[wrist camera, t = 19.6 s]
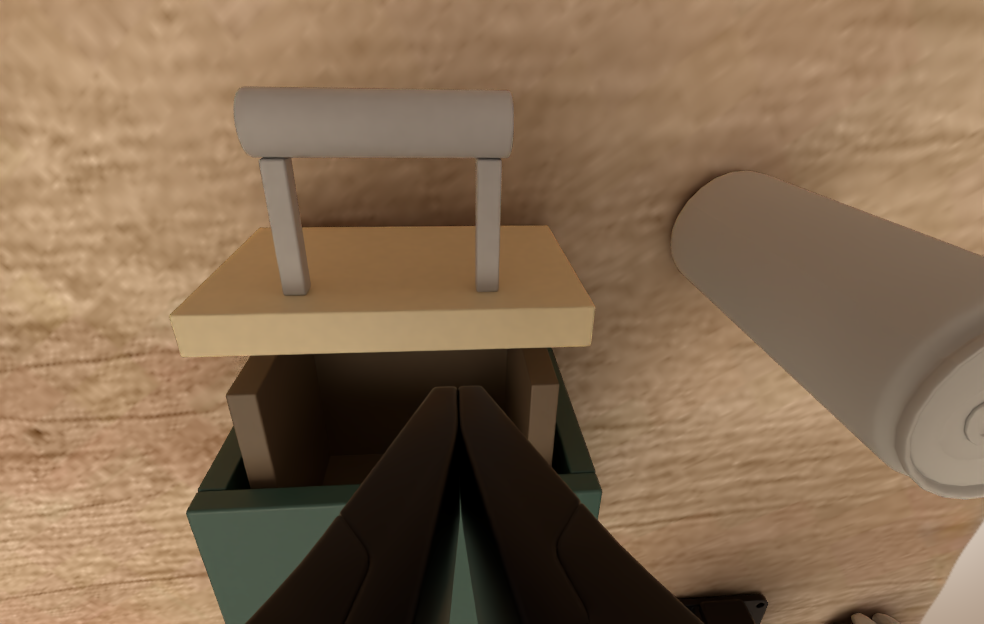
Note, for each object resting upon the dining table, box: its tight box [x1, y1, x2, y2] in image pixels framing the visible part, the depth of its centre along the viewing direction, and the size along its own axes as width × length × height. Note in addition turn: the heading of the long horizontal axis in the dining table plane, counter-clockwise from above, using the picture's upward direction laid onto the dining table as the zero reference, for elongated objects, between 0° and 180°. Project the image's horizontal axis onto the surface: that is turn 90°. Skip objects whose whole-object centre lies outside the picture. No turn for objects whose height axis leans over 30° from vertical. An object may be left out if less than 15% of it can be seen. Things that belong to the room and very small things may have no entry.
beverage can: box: [670, 170, 984, 499], centre depth 15 cm, size 5×5×12 cm
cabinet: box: [186, 347, 602, 624], centre depth 21 cm, size 12×12×9 cm
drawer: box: [169, 87, 595, 489], centre depth 17 cm, size 15×10×7 cm
